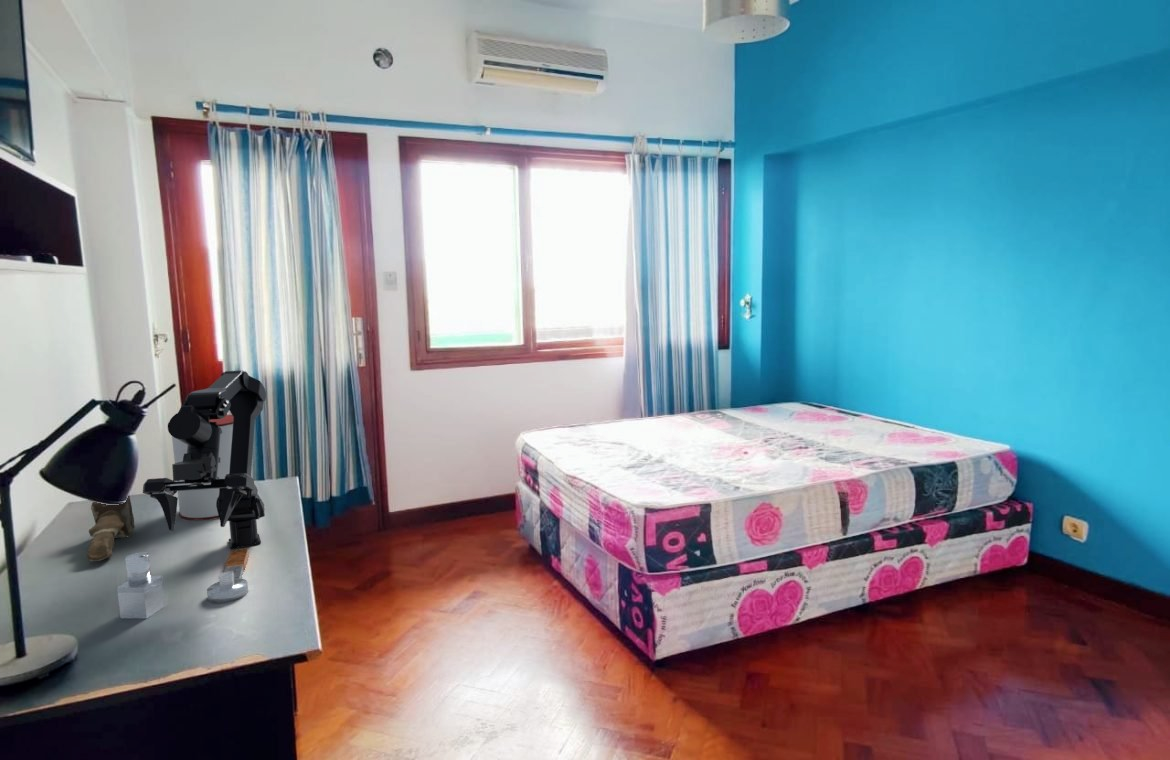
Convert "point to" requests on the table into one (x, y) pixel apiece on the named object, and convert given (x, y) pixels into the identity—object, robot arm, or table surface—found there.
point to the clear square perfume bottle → (140, 589)
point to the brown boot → (109, 528)
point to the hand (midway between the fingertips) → (196, 528)
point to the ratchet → (231, 579)
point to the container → (204, 500)
